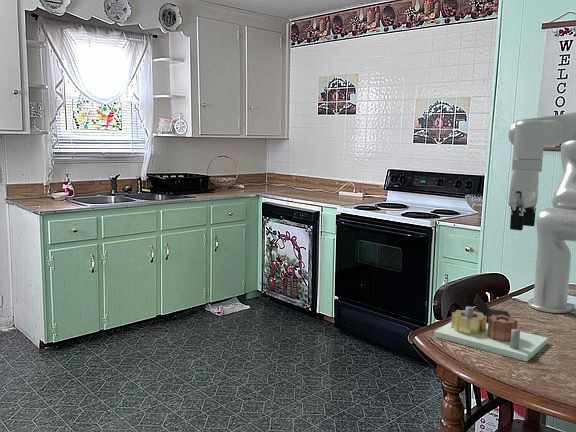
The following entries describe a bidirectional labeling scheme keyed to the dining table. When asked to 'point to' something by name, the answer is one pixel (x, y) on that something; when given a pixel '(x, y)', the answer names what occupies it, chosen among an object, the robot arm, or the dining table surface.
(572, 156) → the robot arm
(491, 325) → the rust gear
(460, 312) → the brass gear
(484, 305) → the dark grey angled bracket
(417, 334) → the dining table surface
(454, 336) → the gear board
